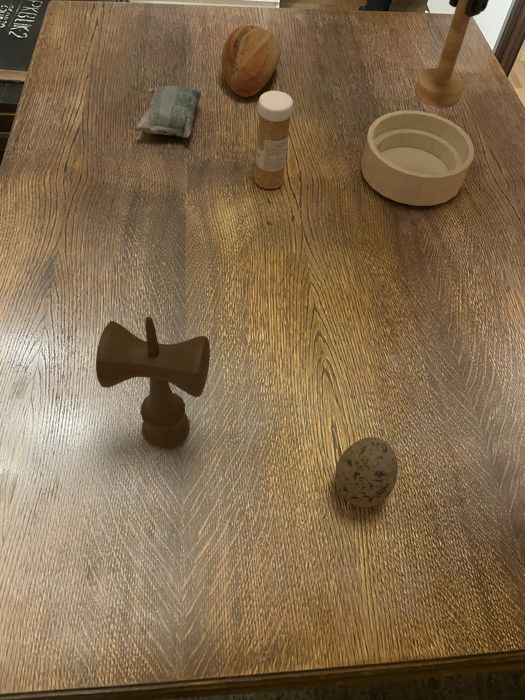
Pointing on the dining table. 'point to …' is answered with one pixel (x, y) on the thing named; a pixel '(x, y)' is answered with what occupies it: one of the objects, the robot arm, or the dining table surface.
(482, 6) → the robot arm
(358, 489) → the decorative egg
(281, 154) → the sprinkles bottle
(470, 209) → the dining table surface
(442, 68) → the wooden peg stand
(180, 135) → the packaged food
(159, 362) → the kendama
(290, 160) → the dining table surface
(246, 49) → the bread roll
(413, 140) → the bowl
